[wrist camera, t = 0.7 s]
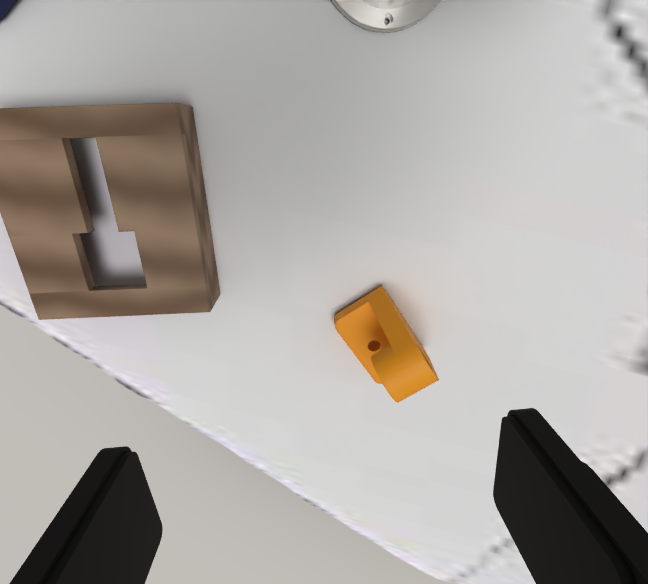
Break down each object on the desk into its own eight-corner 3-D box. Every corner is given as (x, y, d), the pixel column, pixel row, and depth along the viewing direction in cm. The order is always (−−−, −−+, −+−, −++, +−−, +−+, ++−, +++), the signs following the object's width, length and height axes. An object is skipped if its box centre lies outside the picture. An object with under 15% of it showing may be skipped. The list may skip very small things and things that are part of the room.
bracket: (330, 314, 46) (337, 369, 35) (380, 283, 45) (404, 330, 34) (375, 373, 50) (394, 441, 39) (422, 346, 48) (456, 408, 37)
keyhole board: (7, 113, 37) (-37, 109, 32) (192, 107, 37) (175, 102, 32) (67, 300, 44) (38, 319, 39) (220, 294, 44) (210, 311, 40)
